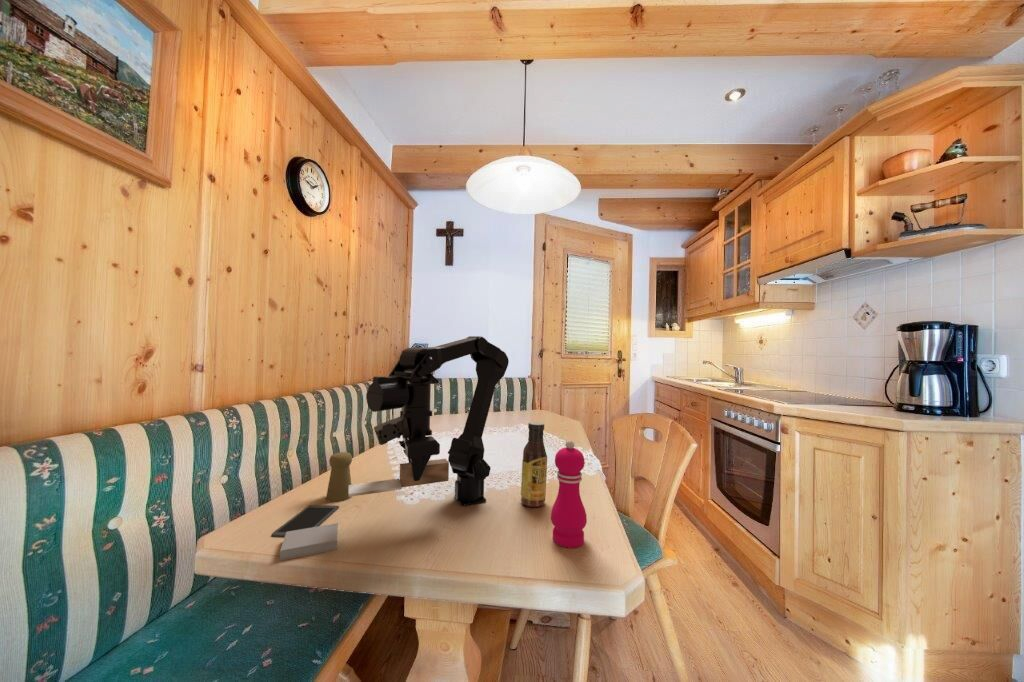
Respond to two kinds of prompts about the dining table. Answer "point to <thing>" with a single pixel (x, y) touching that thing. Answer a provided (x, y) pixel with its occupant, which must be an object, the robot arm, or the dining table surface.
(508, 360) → the robot arm
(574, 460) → the pepper mill
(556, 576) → the dining table surface
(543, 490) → the sauce bottle
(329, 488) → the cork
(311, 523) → the cell phone
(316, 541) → the tile
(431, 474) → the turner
